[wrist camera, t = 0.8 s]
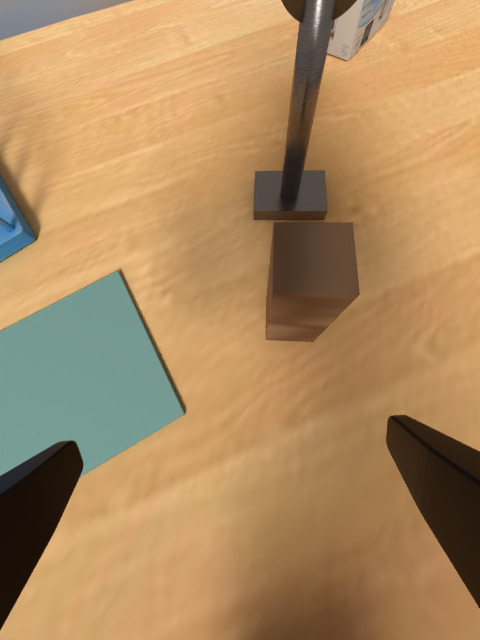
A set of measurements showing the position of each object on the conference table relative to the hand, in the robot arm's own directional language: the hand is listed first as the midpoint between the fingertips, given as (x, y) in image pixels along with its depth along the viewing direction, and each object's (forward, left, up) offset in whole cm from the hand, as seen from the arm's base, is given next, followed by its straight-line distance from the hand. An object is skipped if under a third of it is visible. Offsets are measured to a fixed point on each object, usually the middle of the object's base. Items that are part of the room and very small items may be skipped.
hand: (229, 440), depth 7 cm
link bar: (+5, -7, -13) cm, 16 cm away
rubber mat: (+10, +12, -13) cm, 20 cm away
